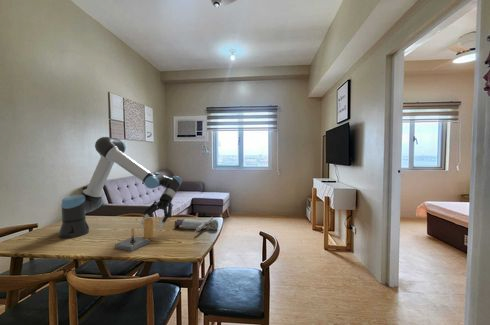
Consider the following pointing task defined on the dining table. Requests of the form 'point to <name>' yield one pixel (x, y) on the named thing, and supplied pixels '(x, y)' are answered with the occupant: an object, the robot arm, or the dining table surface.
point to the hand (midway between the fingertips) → (150, 225)
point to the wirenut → (148, 228)
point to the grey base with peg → (132, 242)
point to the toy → (197, 224)
